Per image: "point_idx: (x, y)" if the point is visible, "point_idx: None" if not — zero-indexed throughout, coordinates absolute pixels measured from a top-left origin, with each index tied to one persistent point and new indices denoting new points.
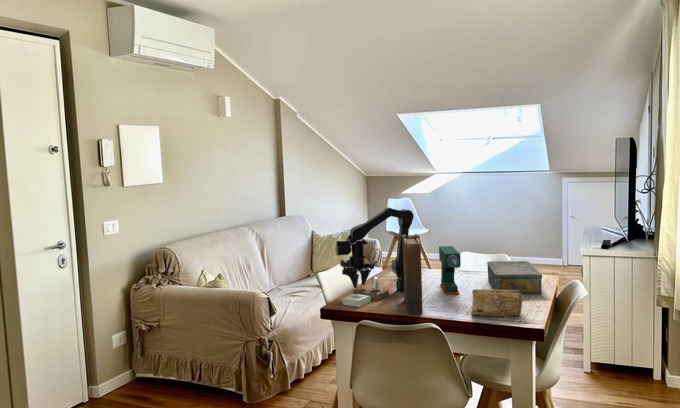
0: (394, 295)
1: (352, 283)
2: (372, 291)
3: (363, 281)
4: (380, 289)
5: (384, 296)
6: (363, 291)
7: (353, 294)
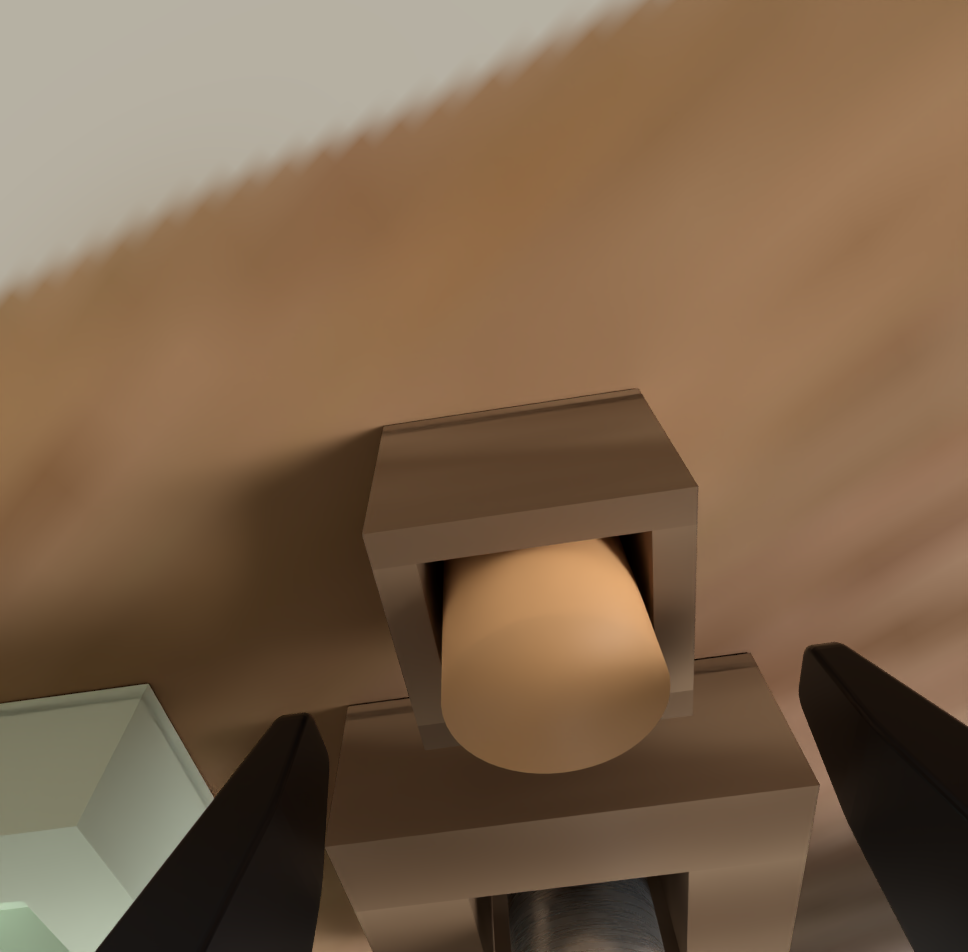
0: (852, 875)
1: (152, 885)
2: (512, 942)
3: (872, 817)
4: (762, 928)
5: None
6: None
7: (21, 854)
